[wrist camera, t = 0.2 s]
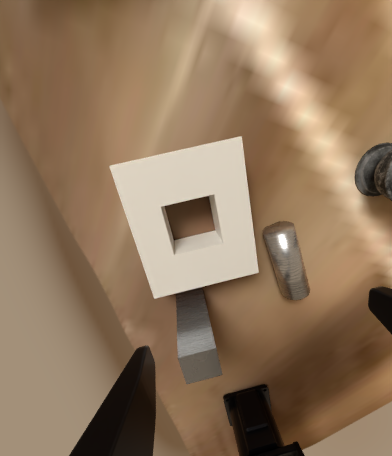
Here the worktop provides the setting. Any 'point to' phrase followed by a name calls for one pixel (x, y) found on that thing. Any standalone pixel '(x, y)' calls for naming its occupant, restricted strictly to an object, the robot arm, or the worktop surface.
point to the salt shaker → (375, 171)
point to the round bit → (287, 260)
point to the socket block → (183, 191)
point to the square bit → (195, 337)
